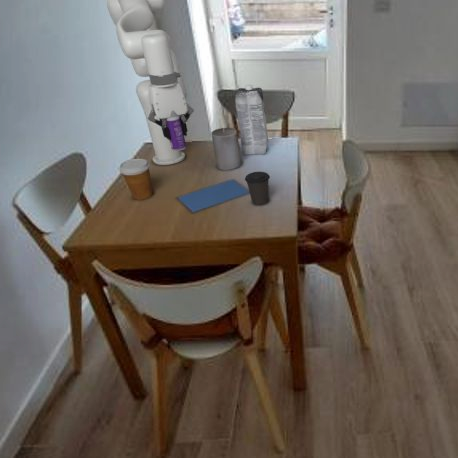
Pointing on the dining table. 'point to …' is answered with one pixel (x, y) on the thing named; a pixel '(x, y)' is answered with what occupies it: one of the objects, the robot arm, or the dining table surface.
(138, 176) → the disposable coffee cup
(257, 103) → the juice carton
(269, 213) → the dining table surface
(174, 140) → the container
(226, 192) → the napkin
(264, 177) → the coffee cup
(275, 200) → the dining table surface
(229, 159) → the pillar candle
